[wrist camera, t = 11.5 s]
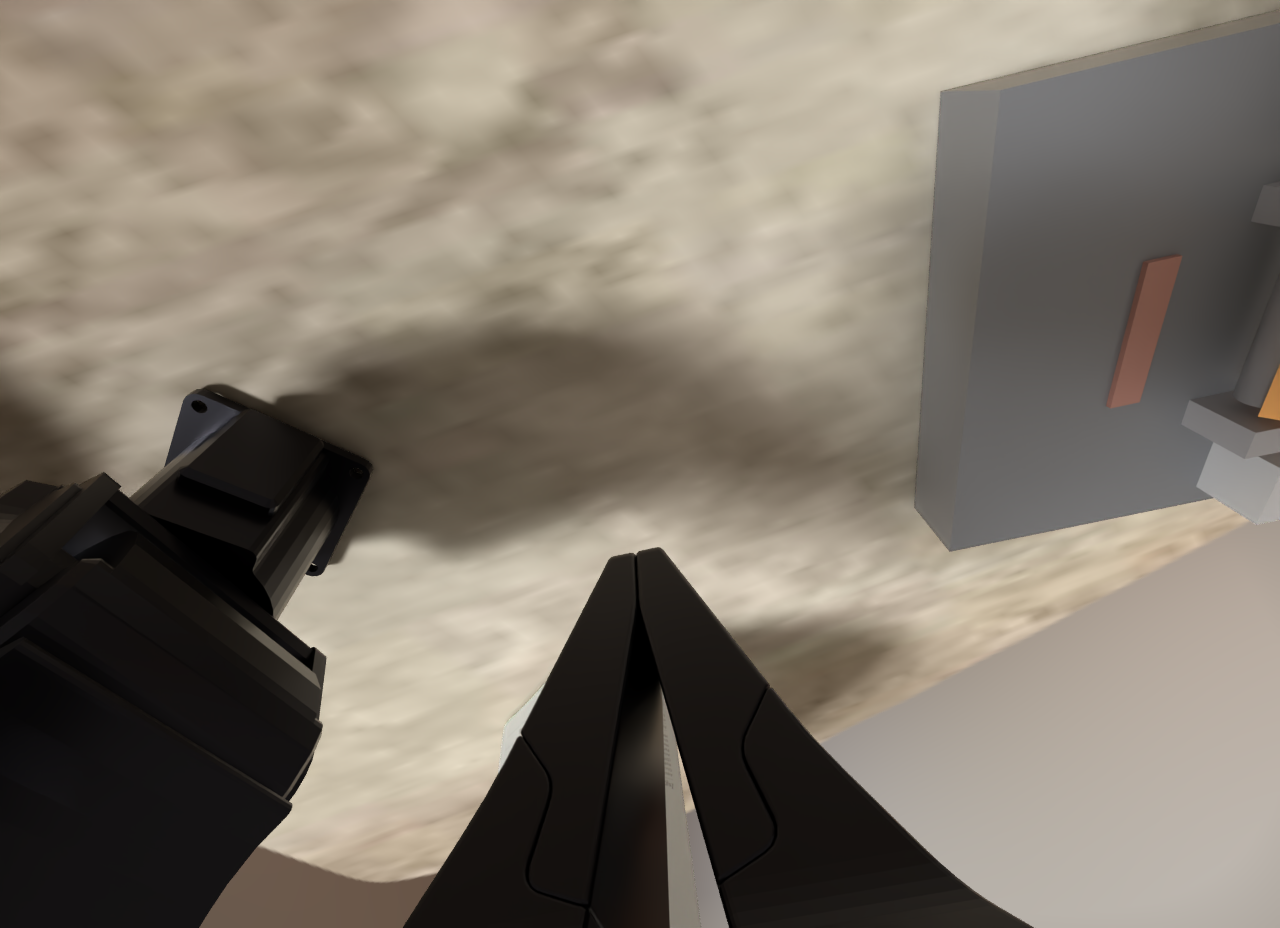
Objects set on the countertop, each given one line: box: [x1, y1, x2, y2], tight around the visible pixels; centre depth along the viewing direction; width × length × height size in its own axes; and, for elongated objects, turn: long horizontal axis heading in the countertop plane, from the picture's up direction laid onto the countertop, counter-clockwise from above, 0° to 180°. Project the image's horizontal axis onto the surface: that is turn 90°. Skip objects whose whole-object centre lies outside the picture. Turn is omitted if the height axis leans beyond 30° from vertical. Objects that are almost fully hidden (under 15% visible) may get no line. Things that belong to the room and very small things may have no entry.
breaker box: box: [914, 10, 1280, 551], centre depth 19 cm, size 14×16×5 cm
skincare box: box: [498, 682, 701, 928], centre depth 25 cm, size 8×6×15 cm
